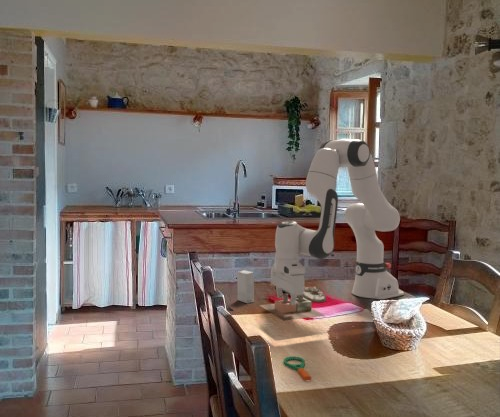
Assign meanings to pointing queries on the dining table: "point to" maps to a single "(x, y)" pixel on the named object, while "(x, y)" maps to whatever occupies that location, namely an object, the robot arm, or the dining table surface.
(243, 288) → the skincare box
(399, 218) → the robot arm
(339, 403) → the dining table surface
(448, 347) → the dining table surface
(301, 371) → the magnifying glass
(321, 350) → the dining table surface
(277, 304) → the chunky salmon square frame
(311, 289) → the long grey stone
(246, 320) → the dining table surface
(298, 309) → the wooden peg board
